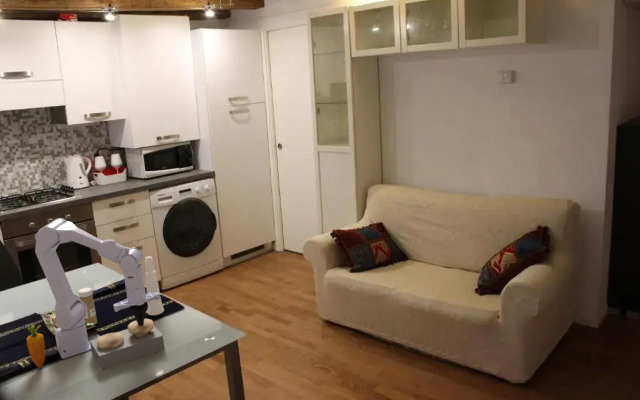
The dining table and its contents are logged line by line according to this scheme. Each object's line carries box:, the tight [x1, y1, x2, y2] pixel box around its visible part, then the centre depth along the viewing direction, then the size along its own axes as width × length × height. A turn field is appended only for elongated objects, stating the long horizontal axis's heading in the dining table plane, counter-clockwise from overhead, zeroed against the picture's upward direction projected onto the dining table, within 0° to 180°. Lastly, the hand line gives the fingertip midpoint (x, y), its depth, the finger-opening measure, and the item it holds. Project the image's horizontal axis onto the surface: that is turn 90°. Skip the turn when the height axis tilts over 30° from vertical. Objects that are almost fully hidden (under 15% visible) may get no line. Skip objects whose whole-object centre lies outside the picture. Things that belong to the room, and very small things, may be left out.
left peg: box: [96, 332, 124, 350], centre depth 178 cm, size 8×8×6 cm
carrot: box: [26, 323, 46, 369], centre depth 172 cm, size 5×5×15 cm
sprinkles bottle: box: [78, 287, 98, 325], centre depth 200 cm, size 5×5×14 cm
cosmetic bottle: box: [144, 255, 165, 316], centre depth 206 cm, size 6×6×22 cm
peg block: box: [89, 325, 166, 371], centre depth 181 cm, size 20×12×5 cm, turn 125°
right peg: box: [127, 318, 155, 338], centre depth 183 cm, size 8×8×6 cm
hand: (140, 324), depth 182 cm, fingers closed, pressing on right peg
